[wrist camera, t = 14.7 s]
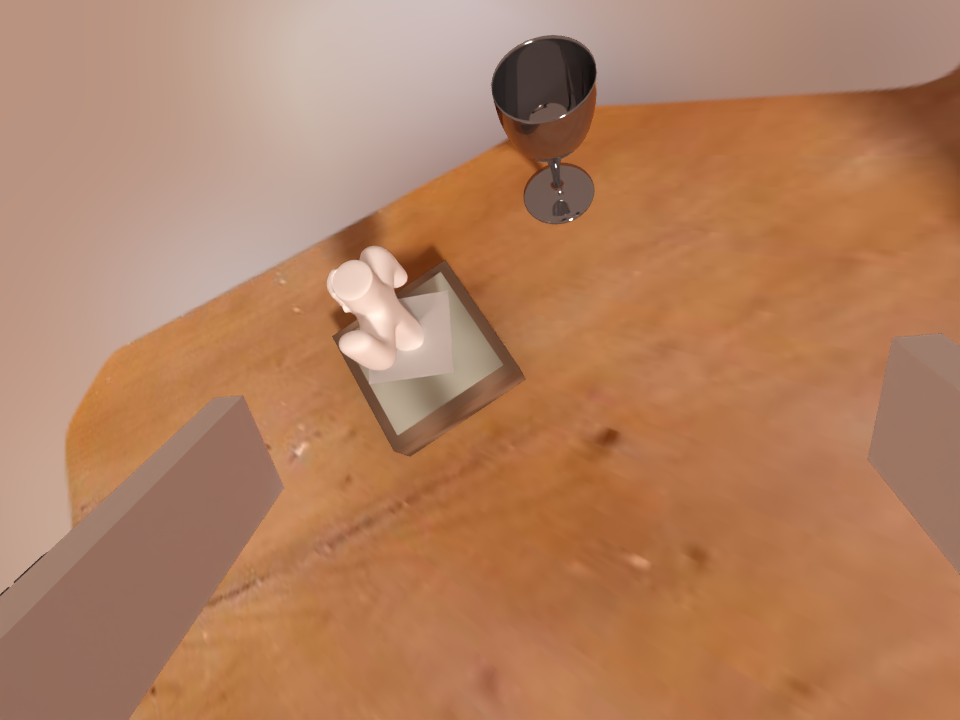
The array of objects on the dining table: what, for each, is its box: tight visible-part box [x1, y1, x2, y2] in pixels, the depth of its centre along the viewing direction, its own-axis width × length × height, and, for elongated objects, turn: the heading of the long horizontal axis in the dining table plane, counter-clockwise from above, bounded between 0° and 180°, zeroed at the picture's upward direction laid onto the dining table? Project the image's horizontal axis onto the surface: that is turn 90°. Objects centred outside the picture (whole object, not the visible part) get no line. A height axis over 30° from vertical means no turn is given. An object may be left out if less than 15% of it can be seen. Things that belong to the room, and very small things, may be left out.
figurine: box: [327, 246, 454, 385], centre depth 40 cm, size 7×9×15 cm
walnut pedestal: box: [332, 260, 525, 456], centre depth 49 cm, size 13×13×4 cm
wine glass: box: [491, 35, 597, 224], centre depth 46 cm, size 8×8×15 cm
